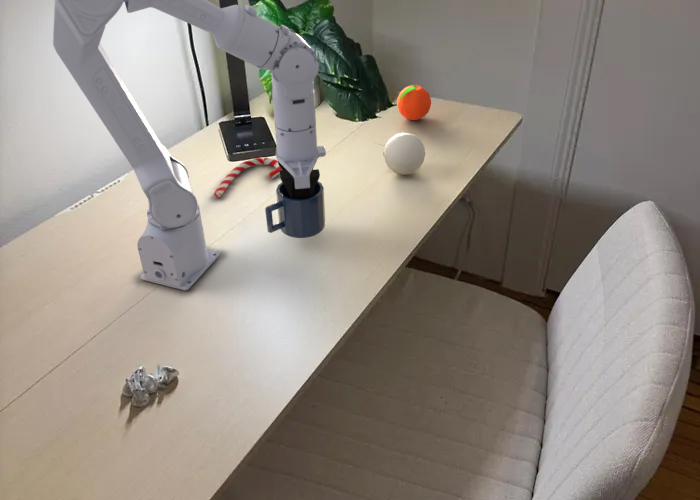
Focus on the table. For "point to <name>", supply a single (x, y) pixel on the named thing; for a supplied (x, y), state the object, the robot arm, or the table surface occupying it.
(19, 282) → the table surface
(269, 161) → the candy cane
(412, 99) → the clementine
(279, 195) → the mug
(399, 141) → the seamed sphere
